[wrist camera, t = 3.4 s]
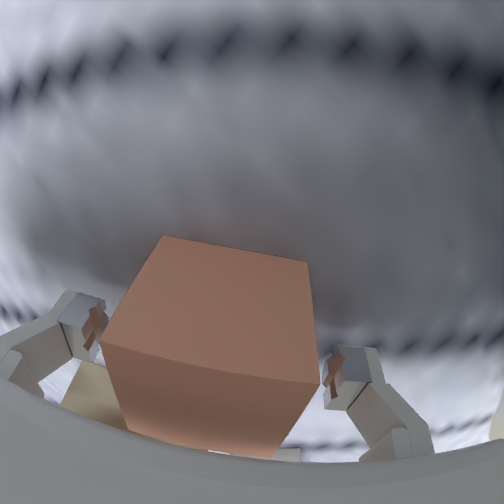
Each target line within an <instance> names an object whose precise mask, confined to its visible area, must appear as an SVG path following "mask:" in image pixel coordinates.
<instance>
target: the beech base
mask: <svg viewBox="0 0 504 504" xmlns="http://www.w3.org/2000/svg"><path fill="white" fill-rule="evenodd" d="M60 406H61V407H63V408H65V409H68V410H70V411H72V412H75V413H77V414H80V415H82V416H85V417H87V418H90V419H92V420H95V421H98V422H101V423H103V424H106V425H109V426H112V427H115V428H118V429H121V430H124V431H127V432H130V433H134V434H137V435H140V436H144V437H147V438H151V439H155V440H158V441H162V442H166V443H170V444H175V445H179V446H183V447H188V448H193V449H198V450H203V451H208V449H203V448H198V447H193V446H188V445H183V444H179V443H175V442H171V441H167V440H163V439H159V438H155V437H151V436H148V435H144V434H141V433H137V432H134V431H131V430H129V429H128V427H127V424H126V422H125V419H124V417H123V414H122V411H121V409H120V406H119V403H118V400H117V397H116V395H115V392H114V389H113V386H112V383H111V380H110V376H109V373H108V370H107V368H104V367H102V366H99V365H97V364H94V363H89V362H86V361H82V363H81V365H80V367H79V368H78V370H77V372H76V374H75V376H74V378H73V380H72V382H71V384H70V386H69V388H68V390H67V392H66V394H65V396H64V398H63V400H62V402H61V404H60Z"/></svg>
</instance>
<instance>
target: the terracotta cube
mask: <svg viewBox="0 0 504 504" xmlns="http://www.w3.org/2000/svg"><path fill="white" fill-rule="evenodd" d="M99 342H100V346H101V349H102V353H103V356H104V360H105V363H106V367H107V370H108V373H109V376H110V380H111V383H112V386H113V389H114V392H115V395H116V397H117V400H118V403H119V406H120V409H121V411H122V414H123V417H124V419H125V422H126V424H127V427H128V429H129V430H131V431H134V432H137V433H141V434H144V435H148V436H151V437H155V438H159V439H163V440H167V441H171V442H175V443H179V444H183V445H188V446H193V447H198V448H203V449H208V450H214V451H219V452H226V453H232V454H239V455H247V456H255V457H264V458H271V457H272V456H273V455H274V453H275V452H276V451H277V449H278V448H279V446H280V445H281V444H282V442H283V441H284V439H285V438H286V436H287V435H288V434H289V432H290V431H291V429H292V428H293V426H294V425H295V423H296V422H297V420H298V419H299V417H300V416H301V414H302V413H303V411H304V410H305V408H306V406H307V405H308V403H309V402H310V400H311V399H312V397H313V395H314V394H315V392H316V391H317V389H318V387H319V386H320V373H319V362H318V351H317V340H316V330H315V321H314V312H313V303H312V294H311V286H310V278H309V270H308V262H304V261H299V260H294V259H288V258H283V257H278V256H272V255H267V254H262V253H256V252H251V251H246V250H240V249H235V248H230V247H224V246H219V245H214V244H208V243H203V242H197V241H192V240H187V239H181V238H176V237H171V236H165V235H163V236H162V237H161V239H160V240H159V242H158V243H157V245H156V246H155V248H154V249H153V251H152V252H151V254H150V255H149V257H148V259H147V260H146V262H145V263H144V265H143V266H142V268H141V270H140V271H139V273H138V274H137V276H136V278H135V279H134V281H133V282H132V284H131V286H130V287H129V289H128V291H127V292H126V294H125V296H124V297H123V299H122V301H121V302H120V304H119V306H118V307H117V309H116V311H115V313H114V314H113V316H112V318H111V319H110V321H109V323H108V325H107V326H106V328H105V330H104V332H103V334H102V335H101V337H100V339H99Z"/></svg>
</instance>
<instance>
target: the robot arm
mask: <svg viewBox="0 0 504 504" xmlns="http://www.w3.org/2000/svg"><path fill="white" fill-rule="evenodd" d="M105 309H106V304H105V301H104V300H102V299H99V298H96V297H93V296H90V295H86V294H83V293H79V292H76V291H73V290H70V289H69V290H66V291H65V292H64V293H63V295H62V296H61V297H60V299H59V300H58V301H57V302H56V304H55V305H54V306H53V308H52V309H51V310H50V312H49V313H48V314H47V316H46V317H43V316H42V317H40V318H37V319H35V320H33V321H31V322H29V323H27V324H25V325H23V326H20V327H18V328H16V329H14V330H12V331H10V332H8V333H6V334H4V335H2V336H0V504H504V439H495V440H492V441H489V442H485V443H481V444H478V445H474V446H469V447H465V448H461V449H456V450H451V451H446V452H441V453H436V454H435V452H434V448H433V443H432V439H431V435H430V431H429V427H428V424H427V423H426V422H425V421H424V420H423V419H422V418H421V417H420V416H419V415H418V414H417V413H416V412H415V411H414V409H413V408H412V407H411V406H410V405H409V404H408V403H407V402H406V401H405V400H404V399H403V398H402V397H401V396H400V395H399V394H398V393H397V392H396V390H395V389H394V388H393V387H392V386H391V385H390V384H386V383H385V379H384V375H383V371H382V367H381V363H380V360H379V356H378V352H377V350H376V349H375V348H369V347H359V346H348V345H339V344H336V345H335V346H334V347H333V349H332V351H331V353H332V357H330V358H328V359H327V360H326V362H325V364H324V367H323V371H322V384H323V385H324V386H325V387H326V390H325V392H324V394H323V397H324V408H325V409H328V410H341V411H346V413H347V414H348V416H349V417H350V419H351V420H352V422H353V423H354V424H355V426H356V427H357V429H358V430H359V432H360V433H361V435H362V436H363V438H364V439H365V441H366V442H367V444H368V445H369V447H370V449H369V450H368V451H367V452H365V453H364V454H363V455H362V456H361V457H360V458H359V462H340V463H318V462H291V461H277V460H265V459H256V458H247V457H239V456H232V455H226V454H220V453H214V452H208V451H203V450H198V449H193V448H188V447H183V446H179V445H175V444H170V443H166V442H162V441H158V440H155V439H151V438H147V437H144V436H140V435H137V434H134V433H130V432H127V431H124V430H121V429H118V428H115V427H112V426H109V425H106V424H103V423H101V422H98V421H95V420H92V419H90V418H87V417H85V416H82V415H80V414H77V413H75V412H72V411H70V410H68V409H65V408H63V407H61V406H58V405H56V404H54V403H52V402H50V401H47V400H45V399H43V398H44V392H43V390H42V389H41V387H40V386H39V384H38V382H39V381H41V380H42V379H44V378H45V377H46V376H48V375H49V374H51V373H52V372H54V371H55V370H56V369H58V368H59V367H61V366H62V365H63V364H65V363H66V362H68V361H69V360H71V359H72V357H74V358H77V359H80V360H83V361H86V362H89V363H92V362H93V360H94V359H95V357H96V355H97V353H98V351H99V348H98V344H99V343H100V342H99V339H100V337H101V335H102V334H103V332H104V330H105V328H106V326H107V325H108V323H109V320H108V316H107V315H106V314H105V313H104V311H105Z"/></svg>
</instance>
